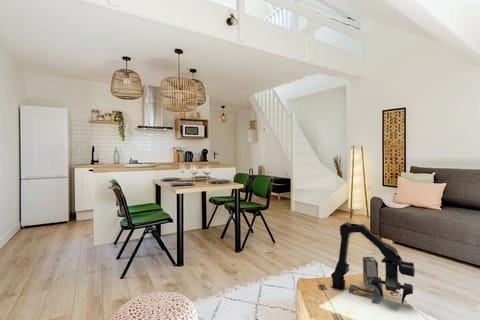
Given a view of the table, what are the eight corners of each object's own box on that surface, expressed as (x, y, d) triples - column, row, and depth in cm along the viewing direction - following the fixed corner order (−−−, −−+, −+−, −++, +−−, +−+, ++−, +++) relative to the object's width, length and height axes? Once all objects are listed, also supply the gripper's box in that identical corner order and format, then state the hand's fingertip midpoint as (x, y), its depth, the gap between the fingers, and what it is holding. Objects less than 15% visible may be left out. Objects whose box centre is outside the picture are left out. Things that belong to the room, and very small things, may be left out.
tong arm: (349, 293, 148) (349, 286, 148) (350, 291, 149) (350, 285, 149) (378, 300, 139) (378, 293, 139) (378, 298, 141) (378, 292, 141)
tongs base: (348, 293, 148) (348, 288, 148) (351, 288, 153) (351, 284, 153) (378, 300, 139) (378, 296, 139) (379, 295, 145) (379, 290, 145)
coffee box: (379, 289, 151) (378, 262, 151) (367, 289, 152) (366, 261, 152) (374, 282, 160) (373, 256, 160) (363, 281, 161) (362, 256, 161)
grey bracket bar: (372, 302, 138) (372, 296, 138) (375, 293, 147) (375, 287, 147) (378, 304, 136) (378, 297, 136) (381, 294, 146) (381, 288, 146)
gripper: (370, 273, 136) (370, 302, 136) (412, 282, 125) (412, 313, 125) (373, 265, 145) (373, 293, 145) (412, 273, 135) (413, 303, 134)
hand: (392, 300), depth 137 cm, fingers open, 9 cm apart
